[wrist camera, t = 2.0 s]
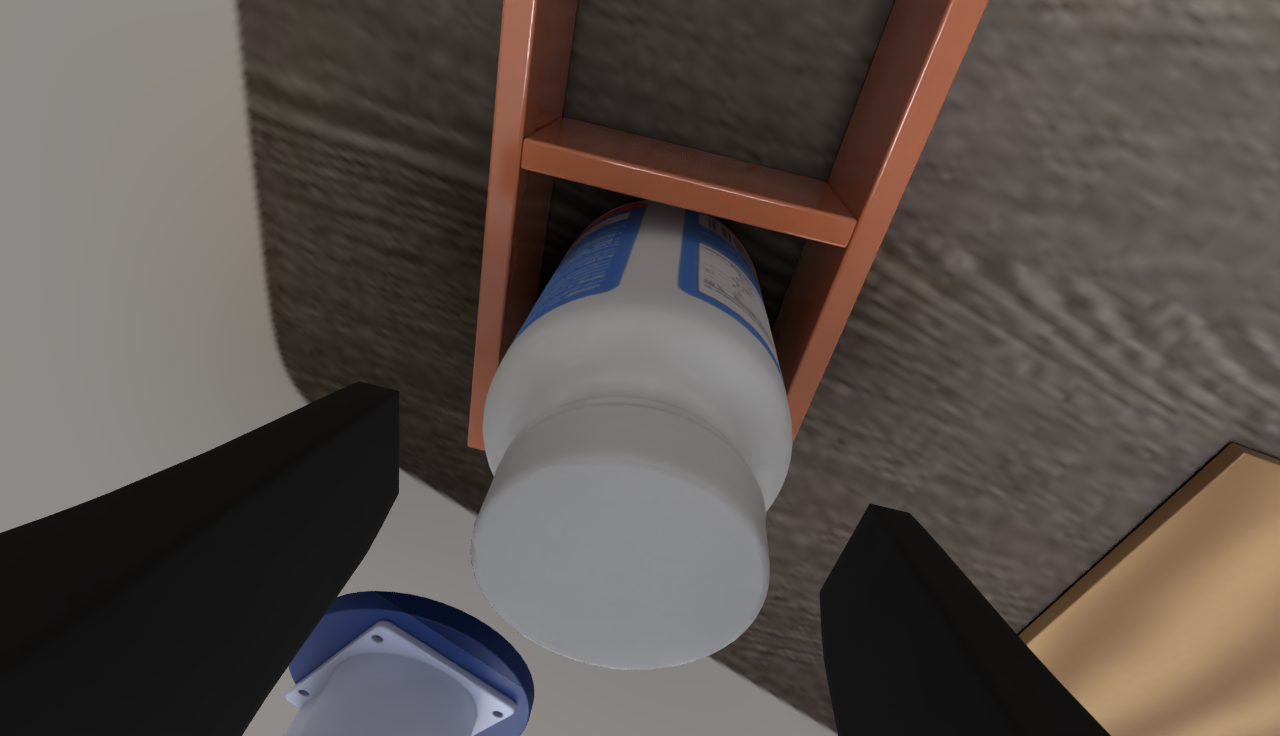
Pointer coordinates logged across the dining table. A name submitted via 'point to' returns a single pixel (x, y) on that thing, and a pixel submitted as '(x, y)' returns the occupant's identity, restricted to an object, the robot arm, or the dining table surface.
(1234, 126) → the dining table surface
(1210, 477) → the mat
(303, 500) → the robot arm
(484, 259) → the holder
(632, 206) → the pill bottle
